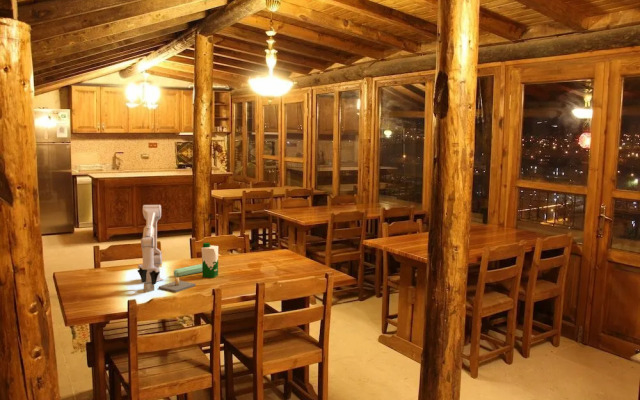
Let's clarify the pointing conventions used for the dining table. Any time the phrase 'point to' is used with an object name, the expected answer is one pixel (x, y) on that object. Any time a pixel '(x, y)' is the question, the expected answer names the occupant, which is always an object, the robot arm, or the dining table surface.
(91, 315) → the dining table surface
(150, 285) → the hub ring
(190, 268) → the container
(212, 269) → the milk carton
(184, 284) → the shaft stand
